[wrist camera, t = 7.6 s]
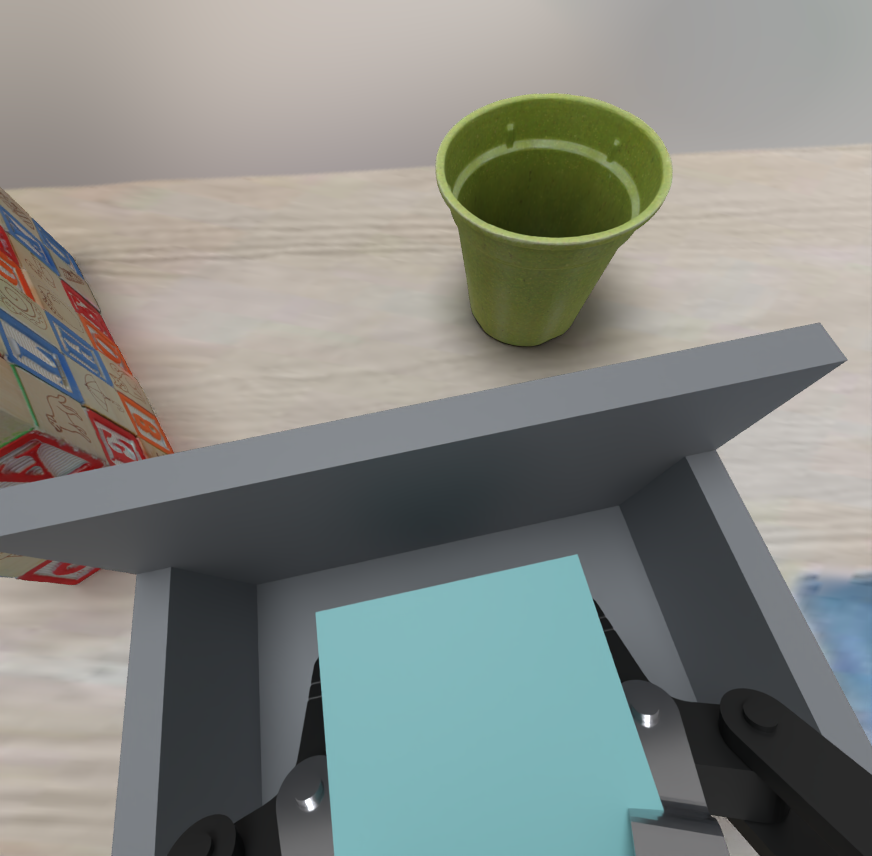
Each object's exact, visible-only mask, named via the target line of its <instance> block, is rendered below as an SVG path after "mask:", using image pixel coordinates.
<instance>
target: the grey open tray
mask: <svg viewBox="0 0 872 856" xmlns="http://www.w3.org/2000/svg"><path fill="white" fill-rule="evenodd" d="M845 361H847V358H846V357H845V356H844V354H843V353H842V352H841V350H840V349H839V348H838V346H837V345H836V344H835V342H834V341H833V340H832V338H831V337H830V336H829V334H828V333H827V331H826V330H825V329H824V327H823V326H822V325H821V323H815V324H810V325H805V326H800V327H795V328H790V329H785V330H781V331H776V332H771V333H766V334H761V335H756V336H751V337H746V338H741V339H736V340H731V341H726V342H721V343H716V344H711V345H706V346H702V347H697V348H692V349H687V350H682V351H677V352H672V353H667V354H662V355H657V356H652V357H647V358H642V359H637V360H632V361H627V362H623V363H618V364H613V365H608V366H603V367H598V368H593V369H588V370H583V371H578V372H573V373H568V374H563V375H558V376H553V377H548V378H544V379H539V380H534V381H529V382H524V383H519V384H514V385H509V386H504V387H499V388H494V389H489V390H484V391H479V392H474V393H470V394H465V395H460V396H455V397H450V398H445V399H440V400H435V401H430V402H425V403H420V404H415V405H410V406H405V407H400V408H395V409H391V410H386V411H381V412H376V413H371V414H366V415H361V416H356V417H351V418H346V419H341V420H336V421H331V422H326V423H321V424H316V425H312V426H307V427H302V428H297V429H292V430H287V431H282V432H277V433H272V434H267V435H262V436H257V437H252V438H247V439H242V440H237V441H233V442H228V443H223V444H218V445H213V446H208V447H203V448H198V449H193V450H188V451H183V452H178V453H173V454H168V455H163V456H159V457H154V458H149V459H144V460H139V461H134V462H129V463H124V464H119V465H114V466H109V467H104V468H99V469H94V470H89V471H84V472H80V473H75V474H70V475H65V476H60V477H55V478H50V479H45V480H40V481H35V482H30V483H25V484H20V485H15V486H10V487H5V488H1V489H0V552H3V553H9V554H15V555H21V556H27V557H33V558H40V559H46V560H52V561H58V562H64V563H70V564H76V565H83V566H89V567H95V568H101V569H107V570H113V571H119V572H126V573H132V574H137V576H136V587H135V599H134V610H133V621H132V632H131V643H130V654H129V666H128V677H127V688H126V699H125V710H124V721H123V732H122V744H121V755H120V766H119V777H118V788H117V799H116V811H115V822H114V833H113V844H112V855H111V856H167V854H168V853H169V851H170V849H171V848H172V846H173V845H174V844H175V842H176V841H177V840H178V838H179V837H180V836H181V835H182V834H183V833H184V832H185V831H186V830H187V829H188V828H189V827H190V826H192V825H193V824H194V823H196V822H197V821H199V820H201V819H202V818H205V817H207V816H210V815H214V814H222V815H225V816H227V817H229V818H230V819H231V820H232V822H233V823H235V822H237V821H238V820H240V819H242V818H243V817H245V816H246V815H248V814H250V813H251V812H253V811H255V810H256V809H258V808H260V807H261V806H263V805H264V804H266V803H267V802H269V801H270V800H271V799H272V798H274V797H275V796H276V795H277V794H278V791H279V789H280V787H281V784H282V783H283V781H284V779H285V778H286V776H287V775H288V773H289V772H290V771H291V770H292V769H293V768H294V767H295V765H296V762H297V758H298V752H299V747H300V741H301V735H302V730H303V724H304V719H305V713H306V707H307V702H308V701H309V698H308V696H309V690H310V686H311V679H312V674H313V668H314V664H315V662H316V660H317V659H318V657H319V652H318V639H317V627H316V614H315V612H319V611H324V610H328V609H333V608H337V607H342V606H346V605H351V604H355V603H360V602H364V601H369V600H373V599H378V598H382V597H387V596H391V595H396V594H400V593H405V592H409V591H414V590H418V589H423V588H427V587H432V586H436V585H441V584H445V583H450V582H454V581H459V580H463V579H468V578H472V577H477V576H481V575H486V574H490V573H495V572H499V571H504V570H508V569H513V568H517V567H522V566H526V565H531V564H535V563H540V562H544V561H549V560H553V559H558V558H562V557H567V556H571V555H576V554H578V557H579V560H580V563H581V566H582V569H583V572H584V575H585V578H586V581H587V584H588V587H589V590H590V593H591V596H592V598H593V599H594V600H595V601H596V602H597V604H598V605H599V607H600V608H601V610H602V611H603V613H604V614H605V617H606V618H607V619H608V620H609V622H610V623H611V625H612V626H613V629H614V630H615V631H616V632H617V634H618V635H619V637H620V638H621V640H622V641H623V643H624V644H625V646H626V647H627V649H628V651H629V652H630V654H631V655H632V657H633V658H634V660H635V661H636V663H637V664H638V666H639V667H640V669H641V670H642V672H643V673H644V675H645V676H646V677H647V679H648V680H649V681H650V682H651V683H652V684H655V685H657V686H658V687H660V688H662V689H663V690H664V691H666V692H667V693H668V694H669V695H670V696H671V697H674V698H676V699H680V700H683V701H689V702H699V703H710V704H720V701H721V698H722V697H723V695H724V694H725V693H727V692H728V691H730V690H733V689H737V688H747V689H753V690H757V691H760V692H763V693H765V694H767V695H769V696H771V697H773V698H775V699H776V700H778V701H779V702H781V703H782V704H783V705H785V706H786V707H787V708H789V709H790V710H791V711H792V712H794V713H795V714H796V715H797V716H799V717H800V718H801V719H802V720H804V721H805V722H806V723H807V724H809V725H810V726H811V727H812V728H814V729H815V730H816V731H817V732H819V733H820V734H821V735H822V736H824V737H825V738H826V739H828V740H829V741H830V742H831V743H833V744H834V745H835V746H836V747H838V748H839V749H840V750H841V751H843V752H844V753H845V754H846V755H848V756H849V757H850V758H851V759H853V760H854V761H855V762H856V763H858V764H859V765H860V766H861V767H863V768H864V769H865V770H867V771H868V772H869V773H870V774H872V746H871V744H870V742H869V740H868V738H867V736H866V734H865V732H864V730H863V729H862V727H861V725H860V723H859V721H858V719H857V717H856V715H855V713H854V711H853V710H852V708H851V706H850V704H849V702H848V700H847V698H846V696H845V694H844V692H843V691H842V689H841V687H840V685H839V683H838V681H837V679H836V677H835V675H834V674H833V672H832V670H831V668H830V666H829V664H828V662H827V660H826V658H825V656H824V655H823V653H822V651H821V649H820V647H819V645H818V643H817V641H816V639H815V637H814V636H813V634H812V632H811V630H810V628H809V626H808V624H807V622H806V620H805V618H804V617H803V615H802V613H801V611H800V609H799V607H798V605H797V603H796V601H795V600H794V598H793V596H792V594H791V592H790V590H789V588H788V586H787V584H786V582H785V581H784V579H783V577H782V575H781V573H780V571H779V569H778V567H777V565H776V563H775V562H774V560H773V558H772V556H771V554H770V552H769V550H768V548H767V546H766V545H765V543H764V541H763V539H762V537H761V535H760V533H759V531H758V529H757V527H756V526H755V524H754V522H753V520H752V518H751V516H750V514H749V512H748V510H747V508H746V507H745V505H744V503H743V501H742V499H741V497H740V495H739V493H738V491H737V490H736V488H735V486H734V484H733V482H732V480H731V478H730V476H729V474H728V472H727V471H726V469H725V467H724V465H723V463H722V461H721V459H720V457H719V455H718V453H717V452H716V449H717V448H719V447H720V446H722V445H723V444H725V443H726V442H728V441H729V440H731V439H732V438H734V437H735V436H737V435H738V434H740V433H741V432H742V431H744V430H745V429H747V428H748V427H750V426H751V425H753V424H754V423H756V422H757V421H759V420H760V419H762V418H763V417H765V416H766V415H767V414H769V413H770V412H772V411H773V410H775V409H776V408H778V407H779V406H781V405H782V404H784V403H785V402H787V401H788V400H790V399H791V398H793V397H794V396H795V395H797V394H798V393H800V392H801V391H803V390H804V389H806V388H807V387H809V386H810V385H812V384H813V383H815V382H816V381H818V380H819V379H820V378H822V377H823V376H825V375H826V374H828V373H829V372H831V371H832V370H834V369H835V368H837V367H838V366H840V365H841V364H843V363H844V362H845Z"/></svg>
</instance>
